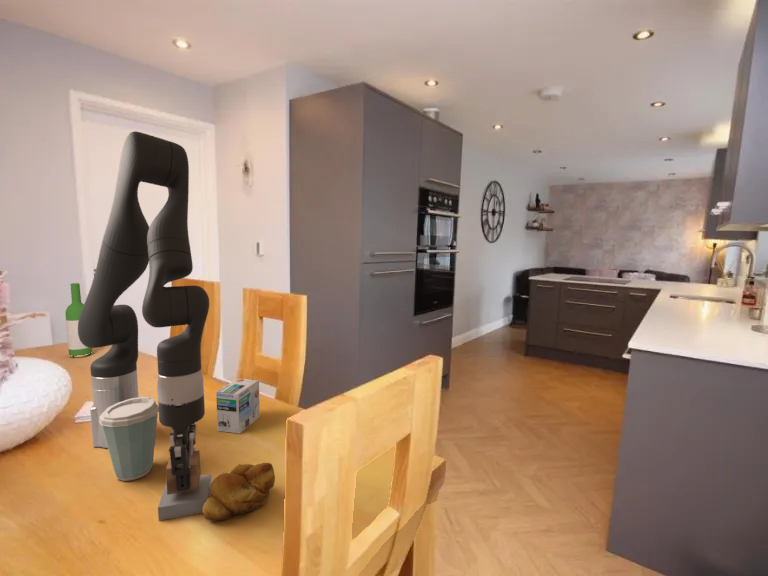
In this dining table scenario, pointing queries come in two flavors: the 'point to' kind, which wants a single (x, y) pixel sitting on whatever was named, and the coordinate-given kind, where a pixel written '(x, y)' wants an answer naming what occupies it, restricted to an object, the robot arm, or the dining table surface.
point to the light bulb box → (238, 405)
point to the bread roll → (239, 491)
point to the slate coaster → (184, 500)
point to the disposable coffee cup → (131, 436)
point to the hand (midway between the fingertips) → (185, 480)
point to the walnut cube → (193, 475)
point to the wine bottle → (75, 323)
